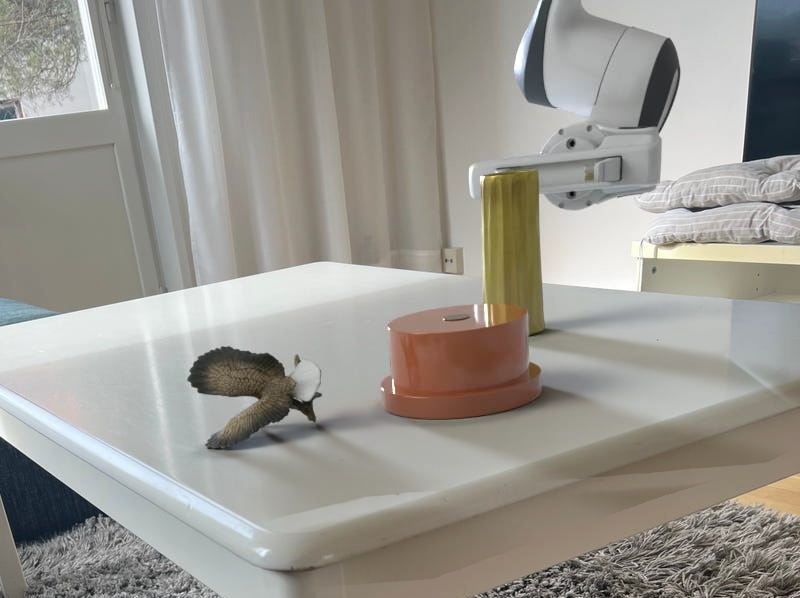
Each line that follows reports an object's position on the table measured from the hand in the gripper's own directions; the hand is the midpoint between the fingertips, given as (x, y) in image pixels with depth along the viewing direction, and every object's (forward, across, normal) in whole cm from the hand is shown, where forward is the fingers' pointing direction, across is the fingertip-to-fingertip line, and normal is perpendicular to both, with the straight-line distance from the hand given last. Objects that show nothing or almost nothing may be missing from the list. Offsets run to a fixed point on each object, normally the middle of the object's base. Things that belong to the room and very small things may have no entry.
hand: (544, 178), depth 99 cm
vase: (+12, 0, +13) cm, 18 cm away
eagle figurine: (+46, -9, +13) cm, 48 cm away
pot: (+36, +3, +13) cm, 38 cm away
